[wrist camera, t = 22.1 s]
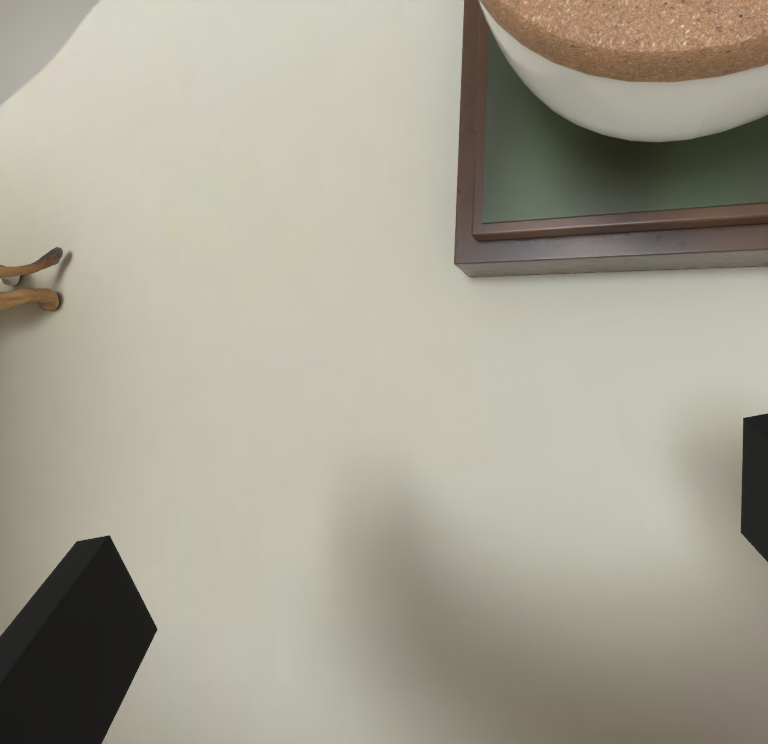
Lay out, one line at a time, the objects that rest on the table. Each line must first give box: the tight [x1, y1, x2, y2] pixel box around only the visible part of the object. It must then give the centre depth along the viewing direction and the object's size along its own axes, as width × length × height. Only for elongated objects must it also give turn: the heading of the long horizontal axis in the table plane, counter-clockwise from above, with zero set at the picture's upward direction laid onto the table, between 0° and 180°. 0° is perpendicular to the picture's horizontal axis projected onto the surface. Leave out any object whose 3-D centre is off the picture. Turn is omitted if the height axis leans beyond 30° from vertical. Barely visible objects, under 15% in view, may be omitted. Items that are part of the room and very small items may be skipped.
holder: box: [454, 0, 768, 277], centre depth 19 cm, size 14×14×3 cm
